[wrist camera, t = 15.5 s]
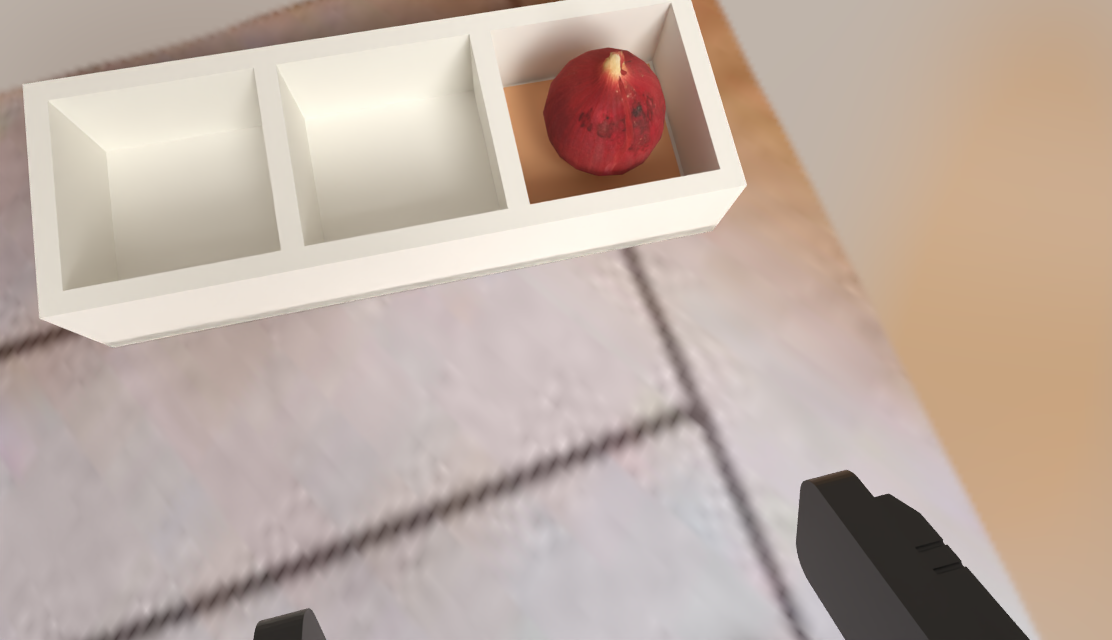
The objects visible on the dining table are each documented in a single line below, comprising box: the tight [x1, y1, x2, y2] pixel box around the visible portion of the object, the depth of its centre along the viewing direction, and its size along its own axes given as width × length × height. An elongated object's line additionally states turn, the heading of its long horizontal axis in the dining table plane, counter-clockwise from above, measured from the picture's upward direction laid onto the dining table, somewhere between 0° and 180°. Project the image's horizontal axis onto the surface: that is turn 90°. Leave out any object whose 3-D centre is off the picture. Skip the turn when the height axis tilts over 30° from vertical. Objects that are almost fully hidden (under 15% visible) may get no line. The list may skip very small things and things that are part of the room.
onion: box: [543, 47, 666, 176], centre depth 36 cm, size 6×6×8 cm
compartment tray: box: [23, 0, 747, 348], centre depth 37 cm, size 31×11×6 cm, turn 103°
